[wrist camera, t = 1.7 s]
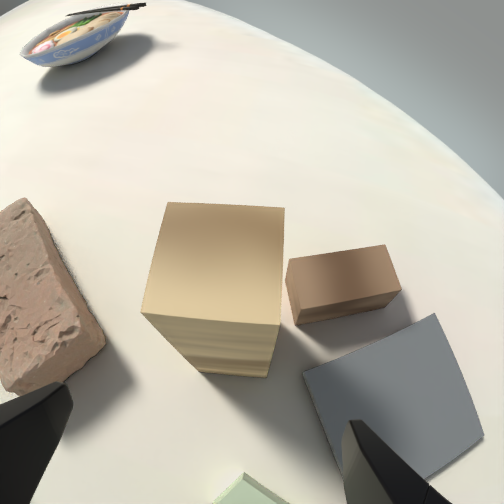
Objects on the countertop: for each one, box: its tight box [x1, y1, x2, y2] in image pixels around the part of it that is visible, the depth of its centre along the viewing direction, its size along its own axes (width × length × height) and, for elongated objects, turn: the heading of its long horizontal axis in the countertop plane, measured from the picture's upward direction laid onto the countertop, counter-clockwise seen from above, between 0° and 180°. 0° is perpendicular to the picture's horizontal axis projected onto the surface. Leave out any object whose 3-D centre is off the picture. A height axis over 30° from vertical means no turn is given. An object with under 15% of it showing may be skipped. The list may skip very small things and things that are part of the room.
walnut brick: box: [285, 245, 402, 325], centre depth 22 cm, size 7×4×4 cm, turn 99°
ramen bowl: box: [20, 3, 146, 67], centre depth 44 cm, size 25×23×8 cm
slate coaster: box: [302, 313, 484, 479], centre depth 18 cm, size 11×11×1 cm
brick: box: [0, 198, 106, 396], centre depth 21 cm, size 17×8×5 cm, turn 42°
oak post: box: [141, 202, 285, 378], centre depth 16 cm, size 4×4×12 cm
